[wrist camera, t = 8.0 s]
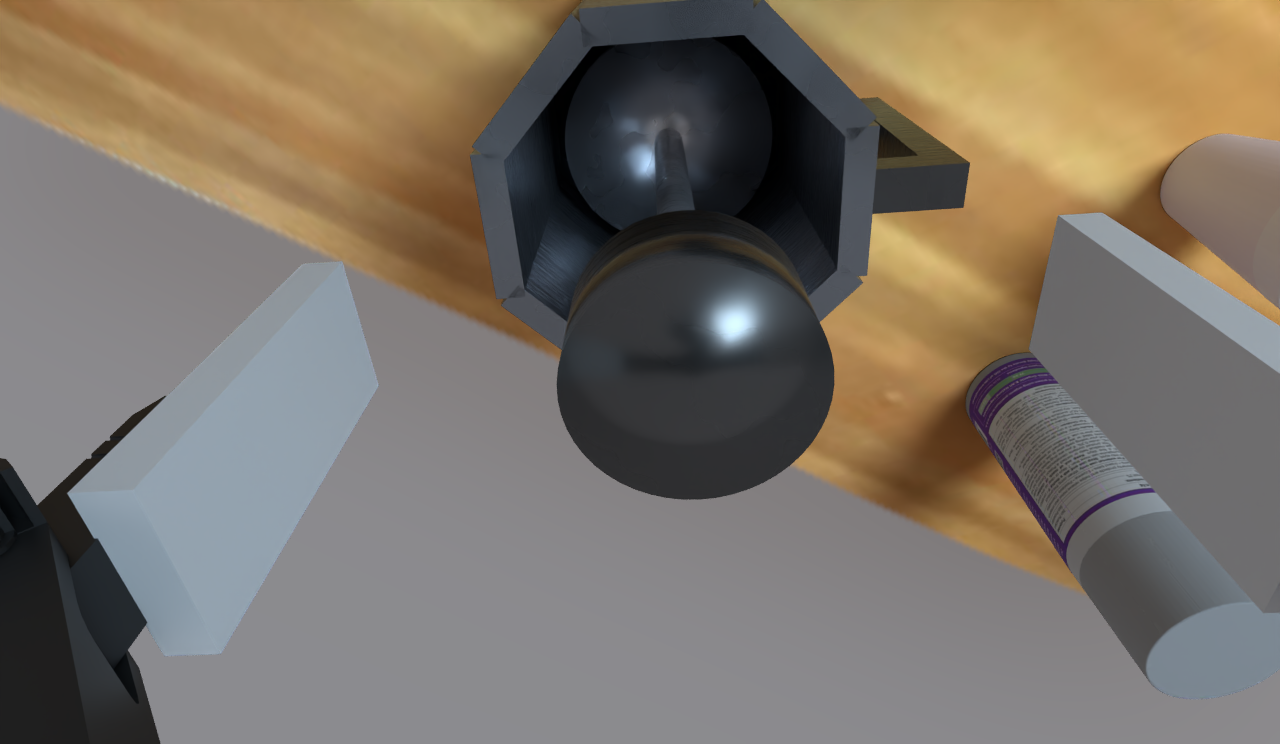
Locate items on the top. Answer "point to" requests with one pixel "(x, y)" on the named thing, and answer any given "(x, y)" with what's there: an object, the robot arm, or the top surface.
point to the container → (1122, 539)
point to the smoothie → (1231, 204)
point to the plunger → (684, 282)
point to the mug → (781, 206)
